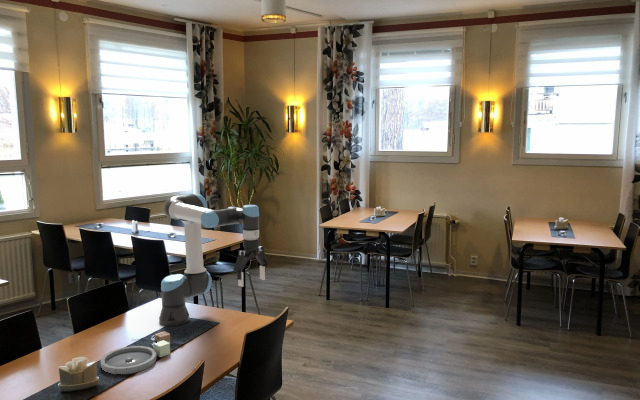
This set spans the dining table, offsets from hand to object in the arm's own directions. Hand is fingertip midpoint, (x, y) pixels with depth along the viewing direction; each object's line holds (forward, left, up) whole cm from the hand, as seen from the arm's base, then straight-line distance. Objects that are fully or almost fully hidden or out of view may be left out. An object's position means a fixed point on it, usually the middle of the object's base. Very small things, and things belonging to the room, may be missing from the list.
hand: (251, 282), depth 245 cm
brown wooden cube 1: (-26, -33, -27) cm, 49 cm away
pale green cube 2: (-17, -39, -27) cm, 50 cm away
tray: (-20, -53, -27) cm, 62 cm away
